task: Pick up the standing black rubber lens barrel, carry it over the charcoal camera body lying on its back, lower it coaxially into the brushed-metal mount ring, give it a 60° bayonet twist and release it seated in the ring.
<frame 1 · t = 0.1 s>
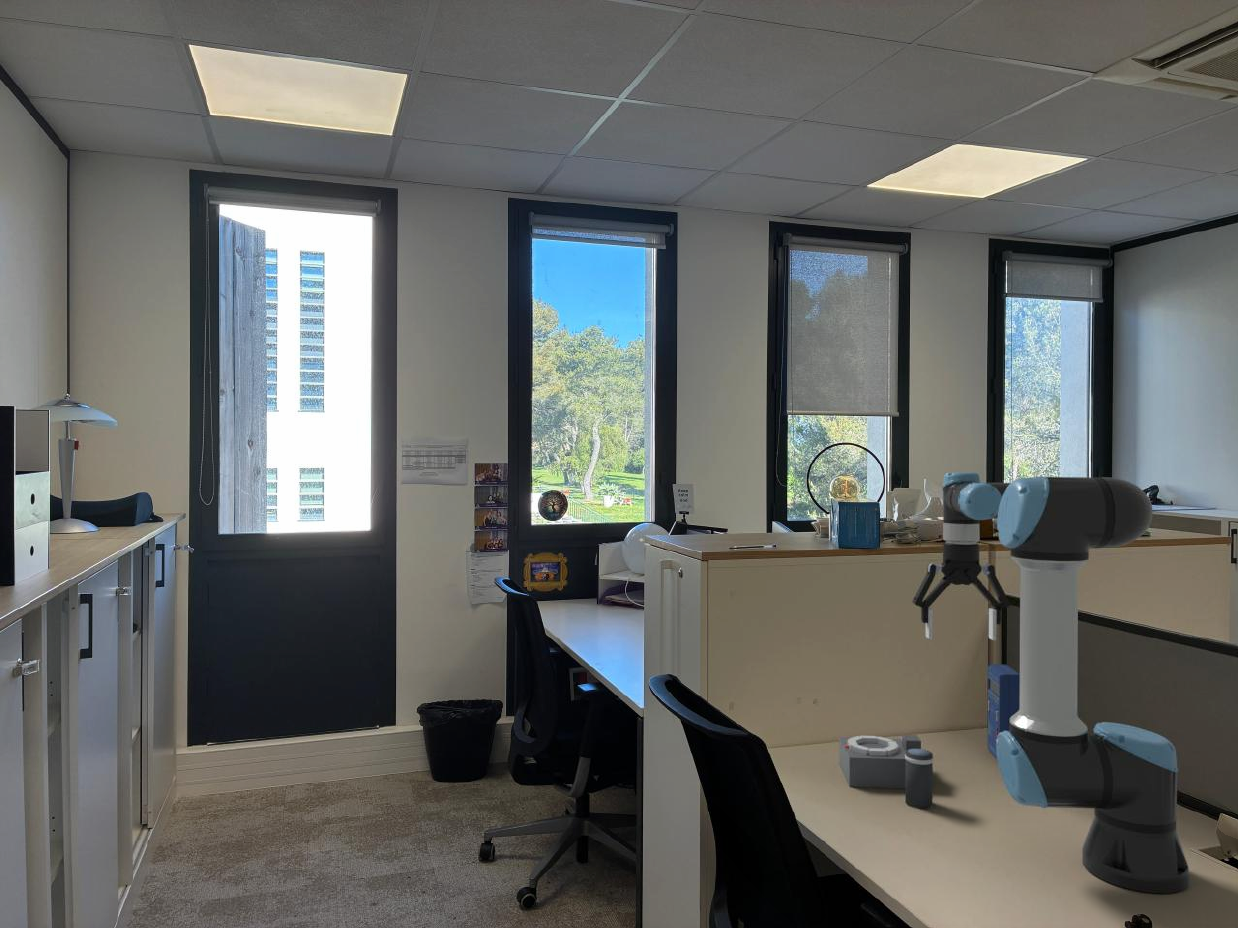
hand: (960, 638, 194), 28 cm above the table, fingers open, 13 cm apart
camera body: (882, 776, 188), on the table
electronic device: (1003, 758, 199), on the table
lens: (918, 803, 173), on the table
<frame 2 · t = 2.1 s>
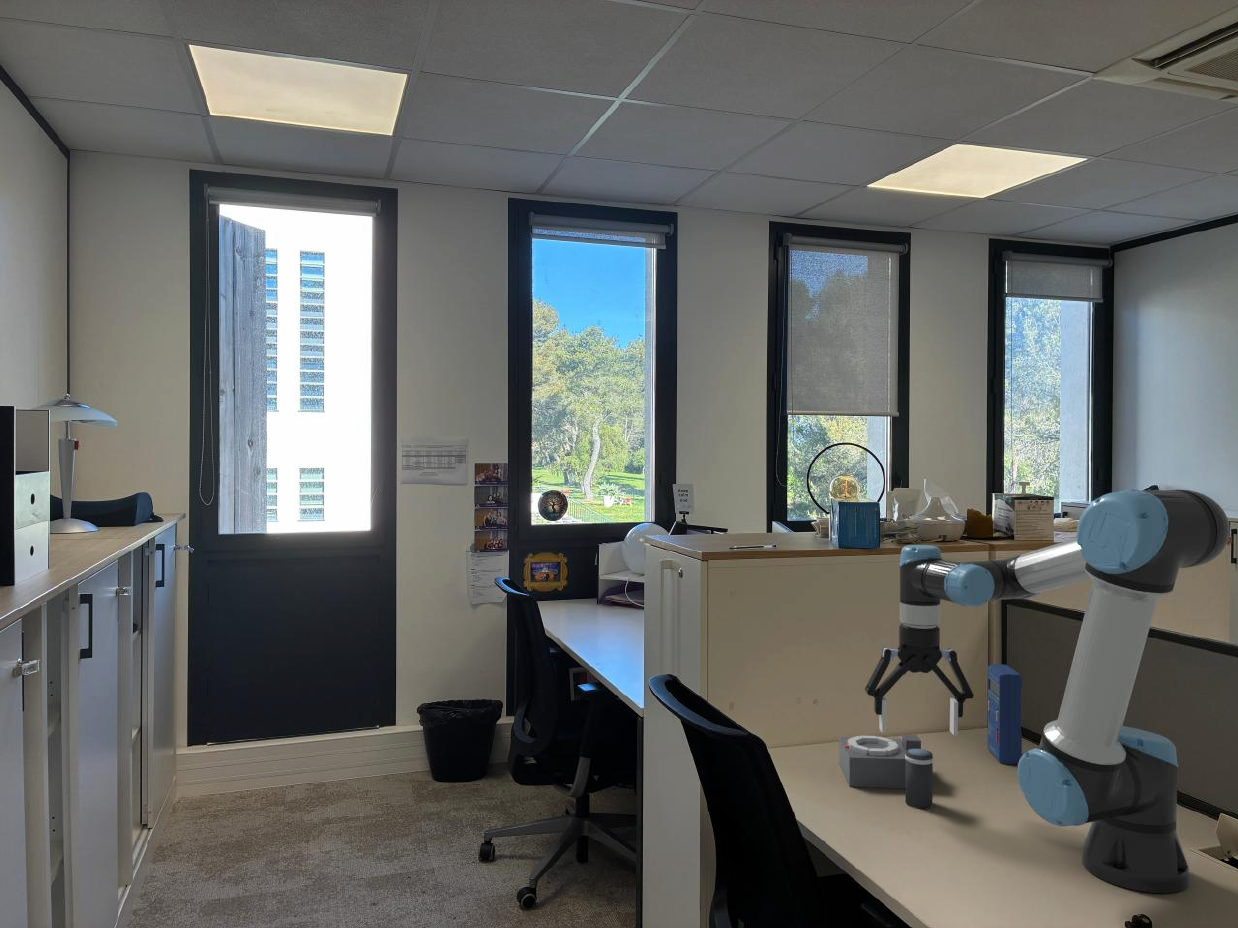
hand: (918, 732, 173), 14 cm above the table, fingers open, 13 cm apart
nothing on the table moved.
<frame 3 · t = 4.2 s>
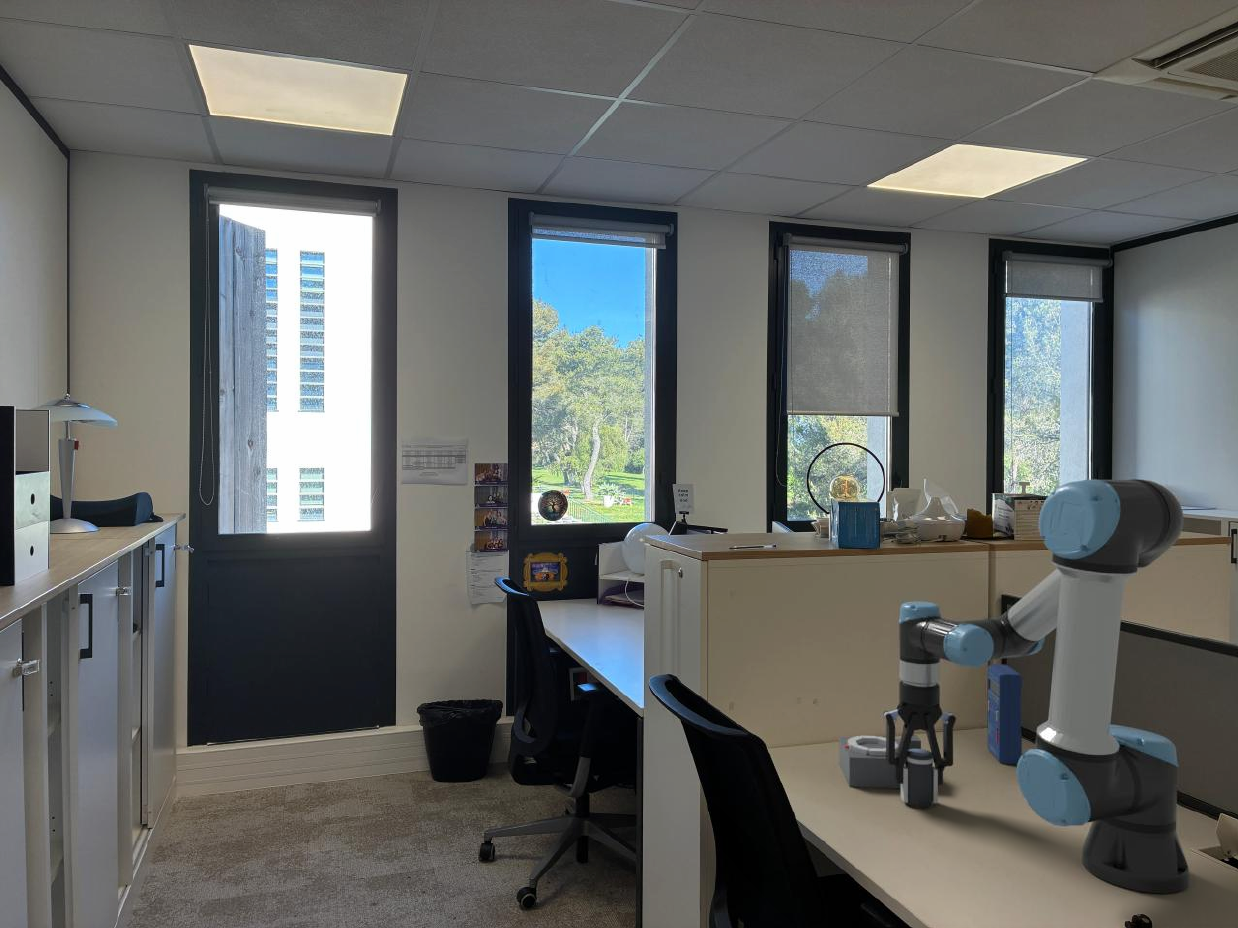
hand: (919, 799, 173), 1 cm above the table, fingers closed on lens, 5 cm apart
lens: (918, 803, 173), on the table, touching gripper
everything else where it was.
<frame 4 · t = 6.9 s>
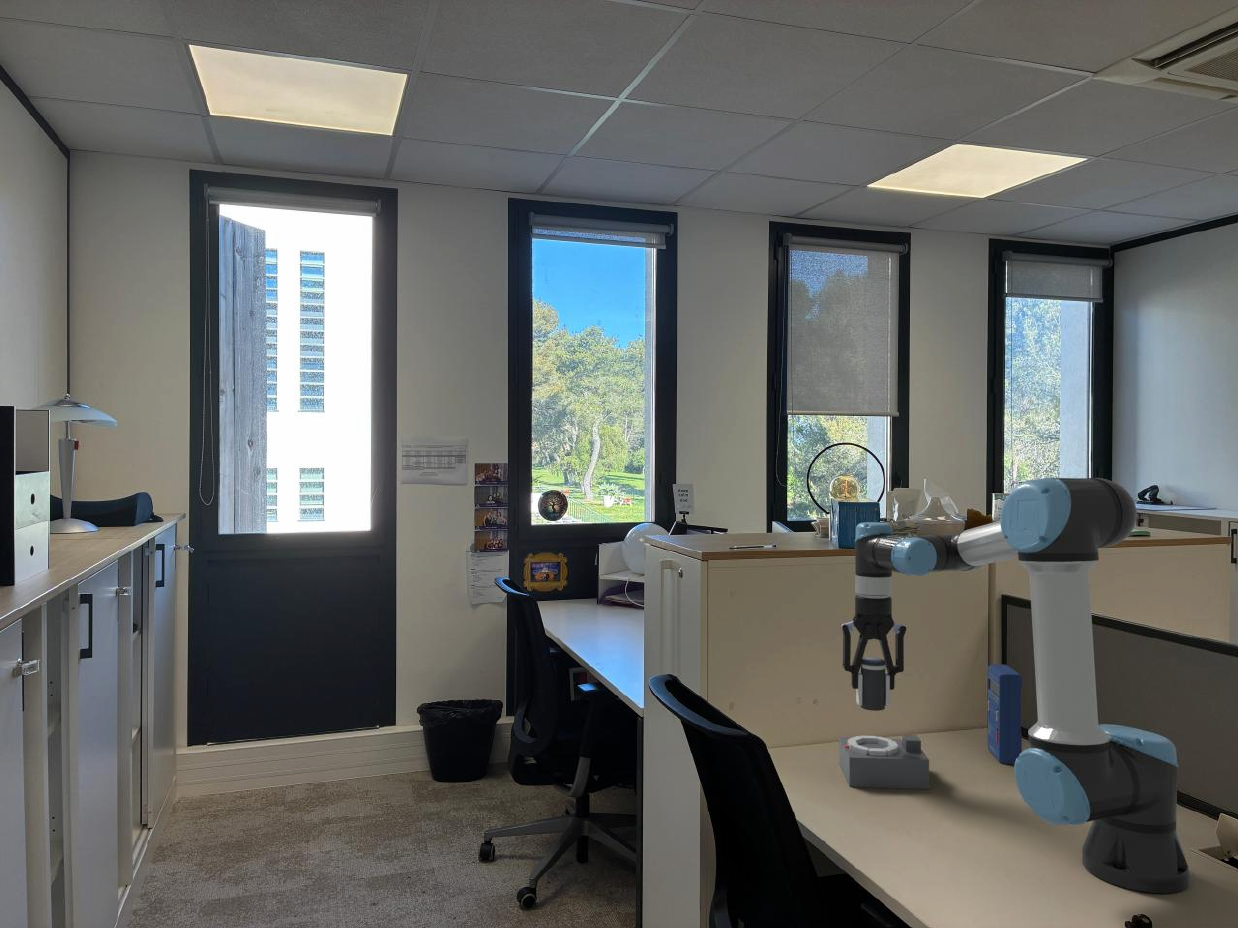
hand: (872, 703, 188), 15 cm above the table, fingers closed on lens, 5 cm apart
lens: (872, 707, 188), point 15 cm above the table, touching gripper
everything else where it was.
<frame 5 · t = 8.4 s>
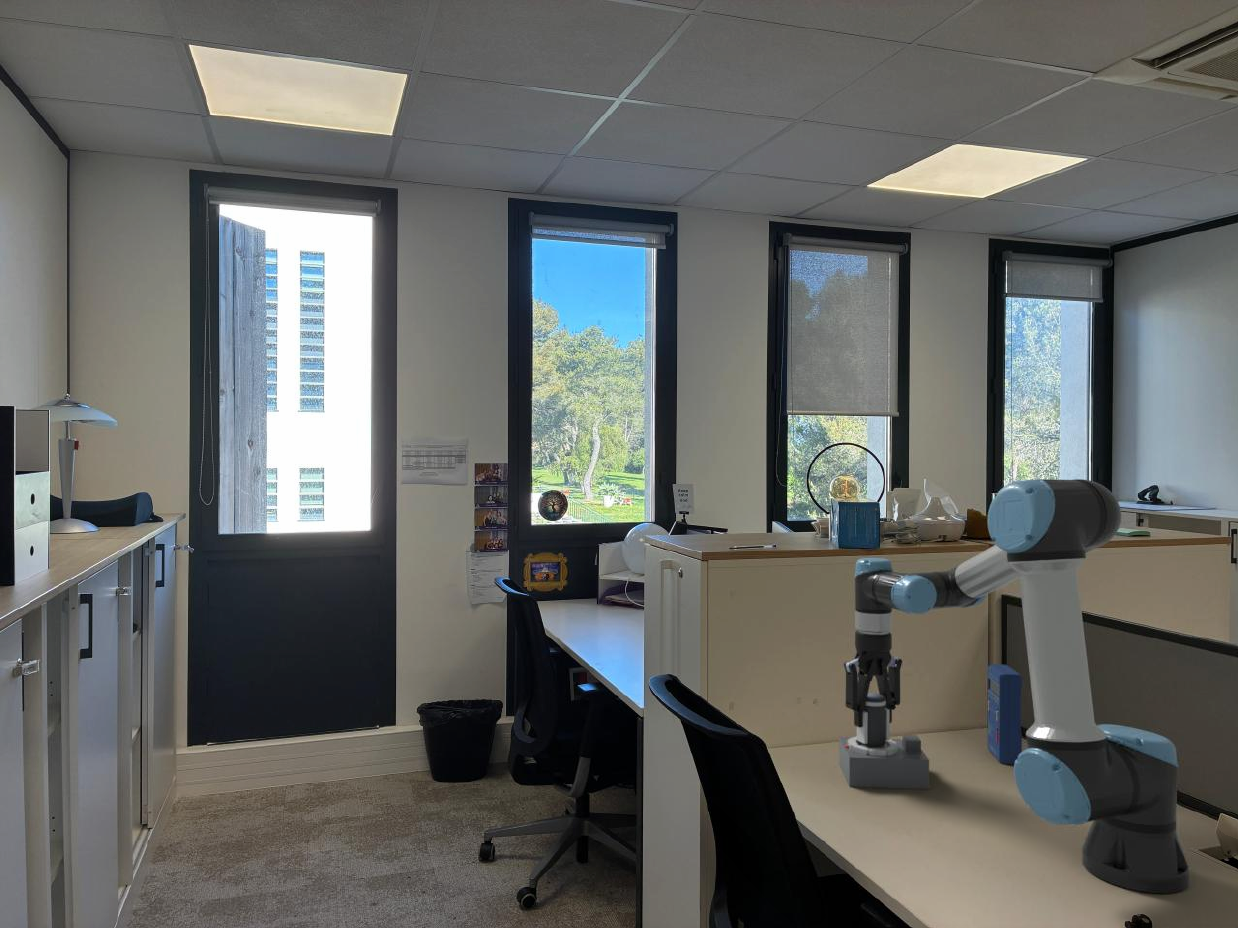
hand: (873, 739, 188), 8 cm above the table, fingers closed on lens, 5 cm apart
lens: (872, 743, 188), point 7 cm above the table, touching gripper
everything else where it was.
when the fingers open (8 cm above the table, at t = 9.5 s): lens stays where it is, resting on camera body.
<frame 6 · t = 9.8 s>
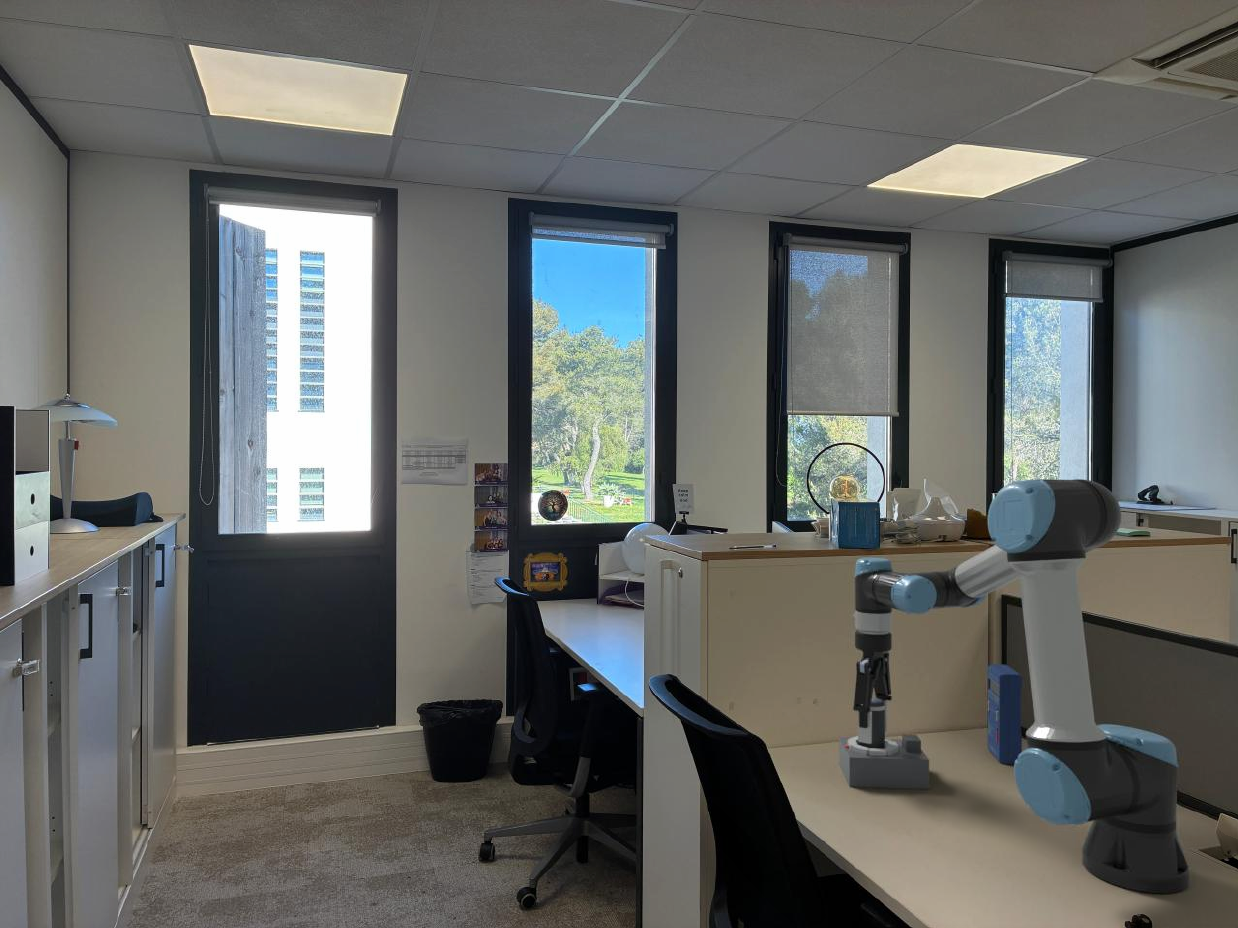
hand: (872, 736, 188), 8 cm above the table, fingers open, 9 cm apart
lens: (872, 747, 188), point 6 cm above the table, touching camera body
everything else where it was.
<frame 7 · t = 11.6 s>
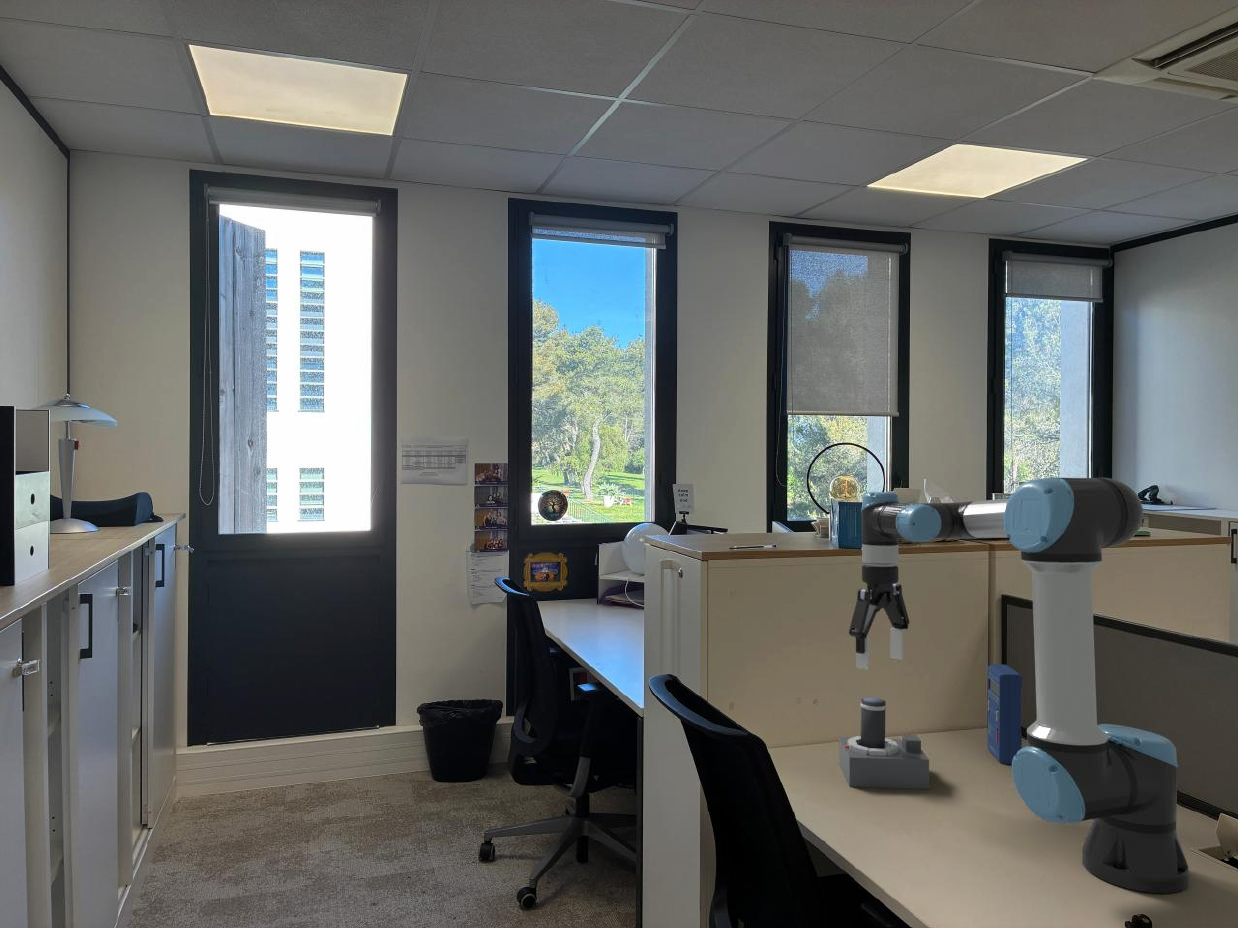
hand: (880, 663, 188), 24 cm above the table, fingers open, 13 cm apart
nothing on the table moved.
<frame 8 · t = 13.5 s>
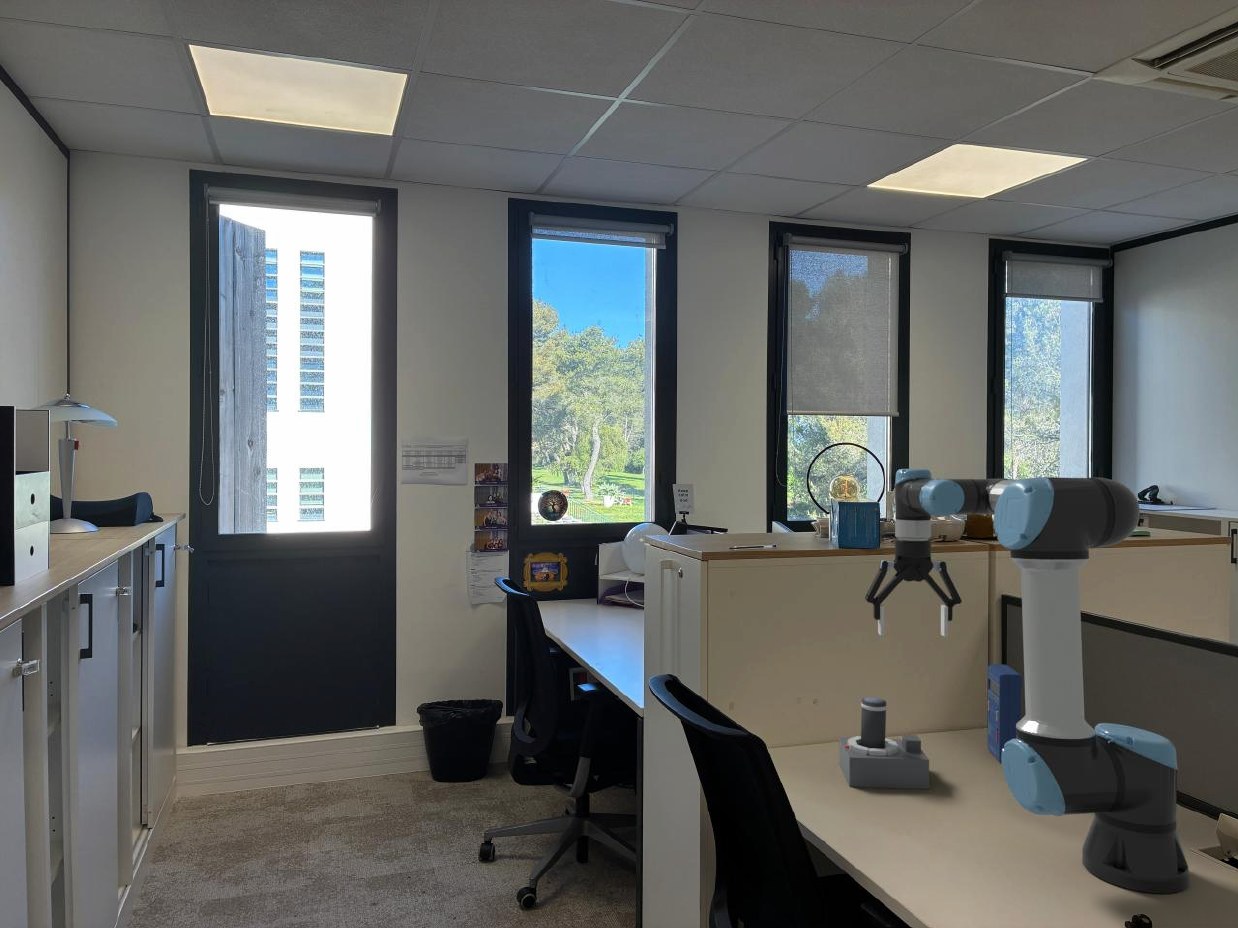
hand: (912, 635, 194), 29 cm above the table, fingers open, 13 cm apart
nothing on the table moved.
at the end: lens 0.1 cm from the target spot on the camera body, point 6.1 cm above the camera body's base; lens tilted 1°; the gripper is holding nothing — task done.
